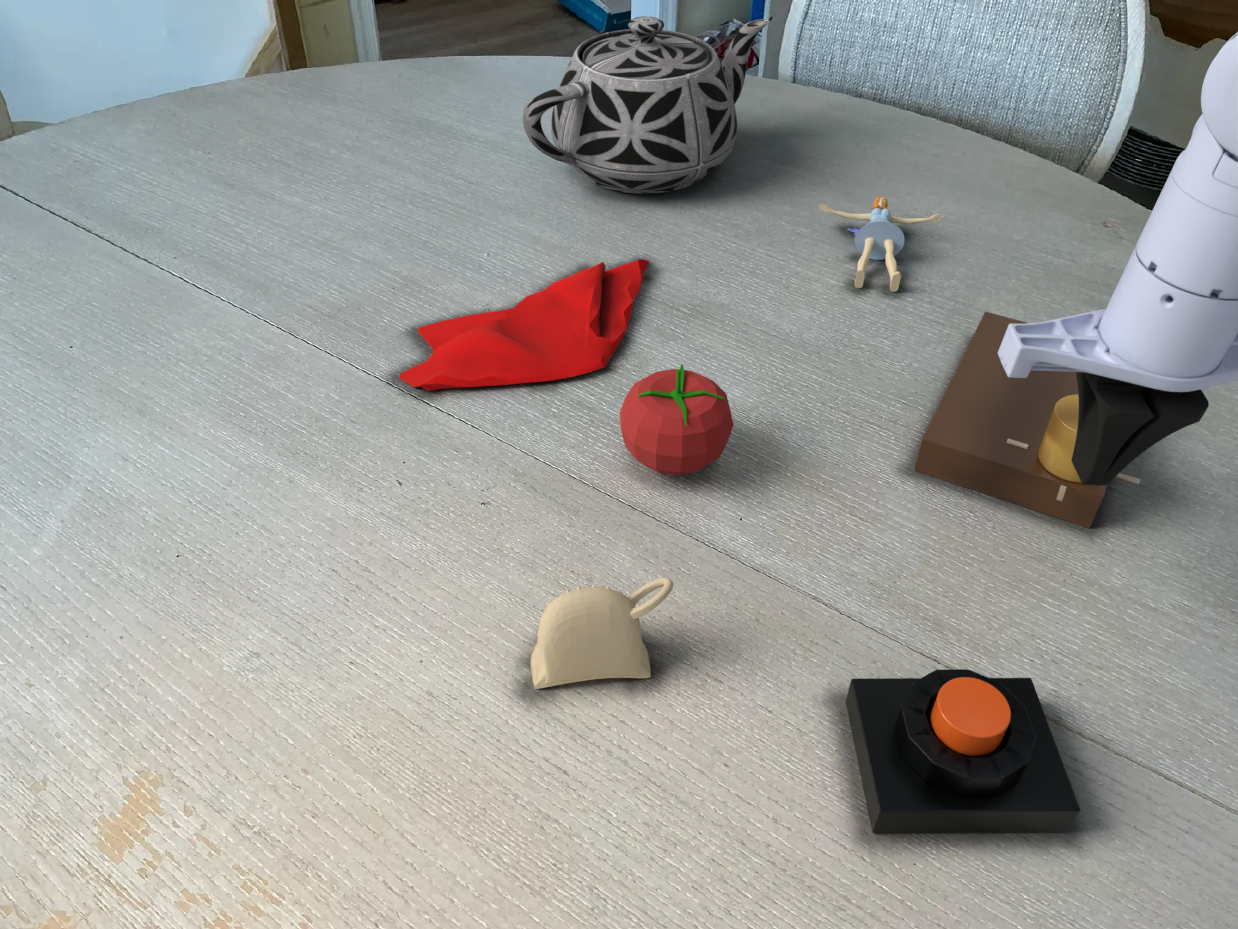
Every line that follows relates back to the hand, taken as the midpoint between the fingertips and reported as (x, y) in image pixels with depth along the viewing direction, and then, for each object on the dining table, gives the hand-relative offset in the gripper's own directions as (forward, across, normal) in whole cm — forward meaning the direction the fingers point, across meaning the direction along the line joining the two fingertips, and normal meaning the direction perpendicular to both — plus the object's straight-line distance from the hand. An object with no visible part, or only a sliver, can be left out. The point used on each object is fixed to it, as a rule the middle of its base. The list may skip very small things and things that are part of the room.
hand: (1088, 472), depth 56 cm
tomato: (+12, +22, -12) cm, 28 cm away
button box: (+10, +8, +12) cm, 18 cm away
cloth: (+13, +31, -28) cm, 44 cm away
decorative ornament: (+12, +27, +5) cm, 30 cm away
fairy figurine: (+12, +2, -40) cm, 42 cm away
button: (+7, +8, +12) cm, 16 cm away
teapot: (+14, +22, -60) cm, 65 cm away
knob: (+8, -5, -9) cm, 13 cm away
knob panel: (+11, -5, -15) cm, 19 cm away
